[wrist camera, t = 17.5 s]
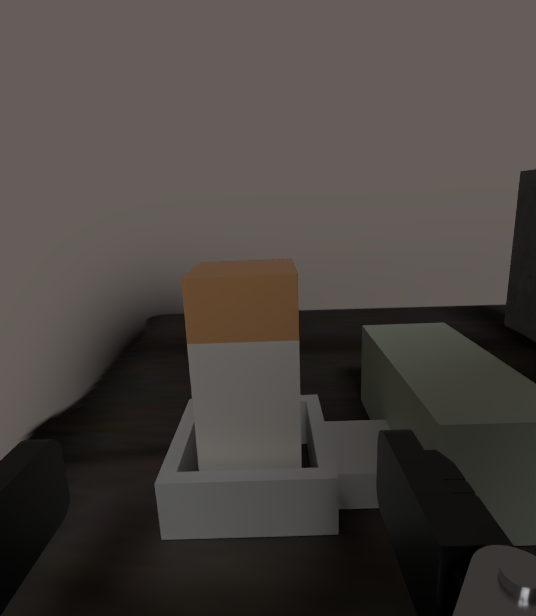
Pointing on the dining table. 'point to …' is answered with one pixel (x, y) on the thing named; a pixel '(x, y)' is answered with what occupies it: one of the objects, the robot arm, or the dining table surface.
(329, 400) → the dining table surface
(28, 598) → the dining table surface
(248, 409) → the orange and grey block
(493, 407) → the grey boxy piece
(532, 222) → the hip flask
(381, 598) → the dining table surface
